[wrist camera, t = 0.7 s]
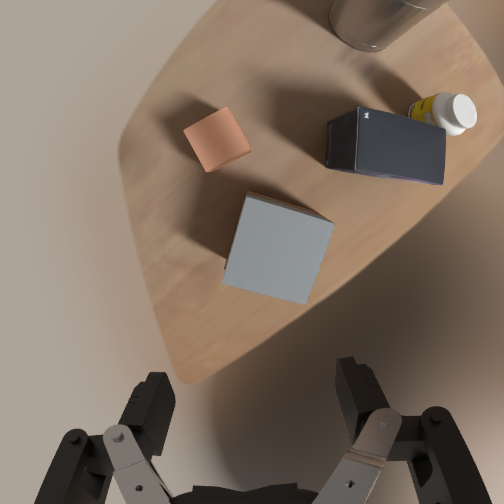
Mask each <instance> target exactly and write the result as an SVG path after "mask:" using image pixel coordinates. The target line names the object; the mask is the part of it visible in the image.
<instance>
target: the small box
mask: <svg viewBox="0 0 504 504" xmlns="http://www.w3.org/2000/svg"><path fill="white" fill-rule="evenodd" d="M327 133H328V139H327V152H326V168H329V169H333V170H338V171H343V172H349V173H355V174H361V175H368V176H373V177H379V178H385V179H393V180H400V181H407V182H415V183H423V184H433V185H443V180H444V170H445V153H446V129H444V128H441V127H438V126H435V125H432V124H429V123H425V122H422V121H419V120H415V119H412V118H408V117H404V116H400V115H396V114H392V113H389V112H384V111H380V110H375V109H370V108H366V107H361V106H359V107H357V108H355V109H353V110H351V111H349V112H347V113H345V114H343V115H341V116H339V117H337V118H335V119H332V120H330V121H328V132H327Z"/></svg>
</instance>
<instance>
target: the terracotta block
mask: <svg viewBox="0 0 504 504" xmlns="http://www.w3.org/2000/svg"><path fill="white" fill-rule="evenodd" d="M183 131H184V133H185V135H186V137H187V138H188V140H189V142H190V144H191V146H192V147H193V149H194V151H195V153H196V155H197V156H198V158H199V160H200V162H201V164H202V166H203V167H204V169H205V171H206V172H214V171H216V170H217V169H219V168H221V167H223V166H225V165H227V164H228V163H230V162H232V161H234V160H236V159H238V158H240V157H242V156H244V155H245V154H247V153H249V152H251V148H250V146H249V144H248V142H247V141H246V139H245V137H244V135H243V133H242V132H241V130H240V128H239V126H238V124H237V123H236V121H235V119H234V117H233V116H232V114H231V112H230V110H229V109H228V107H227V106H226V107H224V108H222V109H220V110H219V111H217V112H215V113H213V114H211V115H209V116H207V117H206V118H204V119H202V120H200V121H198V122H197V123H195V124H193V125H191V126H190V127H188V128H186V129H185V130H183Z"/></svg>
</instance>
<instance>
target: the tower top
mask: <svg viewBox="0 0 504 504" xmlns="http://www.w3.org/2000/svg"><path fill="white" fill-rule="evenodd" d="M334 225H335V224H334V223H333V222H331V221H330V220H328V219H327V218H325V217H323V216H320V215H316V214H313V213H310V212H307V211H304V210H301V209H297V208H294V207H291V206H288V205H284V204H281V203H278V202H274V201H271V200H268V199H264V198H261V197H257V196H254V195H251V194H247V195H246V198H245V202H244V205H243V208H242V212H241V215H240V219H239V222H238V226H237V229H236V233H235V236H234V240H233V243H232V247H231V251H230V254H229V258H228V261H227V265H226V269H225V272H224V277H223V281H222V284H226V285H230V286H233V287H237V288H241V289H245V290H248V291H252V292H256V293H260V294H264V295H268V296H272V297H275V298H279V299H283V300H287V301H291V302H295V303H299V304H304V305H306V302H307V300H308V297H309V294H310V292H311V289H312V287H313V284H314V281H315V279H316V276H317V273H318V271H319V268H320V265H321V262H322V260H323V257H324V254H325V251H326V249H327V246H328V243H329V240H330V237H331V234H332V231H333V228H334Z"/></svg>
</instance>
